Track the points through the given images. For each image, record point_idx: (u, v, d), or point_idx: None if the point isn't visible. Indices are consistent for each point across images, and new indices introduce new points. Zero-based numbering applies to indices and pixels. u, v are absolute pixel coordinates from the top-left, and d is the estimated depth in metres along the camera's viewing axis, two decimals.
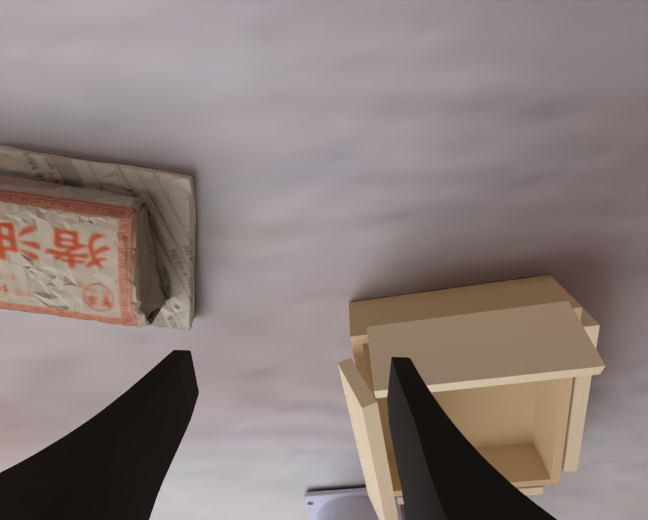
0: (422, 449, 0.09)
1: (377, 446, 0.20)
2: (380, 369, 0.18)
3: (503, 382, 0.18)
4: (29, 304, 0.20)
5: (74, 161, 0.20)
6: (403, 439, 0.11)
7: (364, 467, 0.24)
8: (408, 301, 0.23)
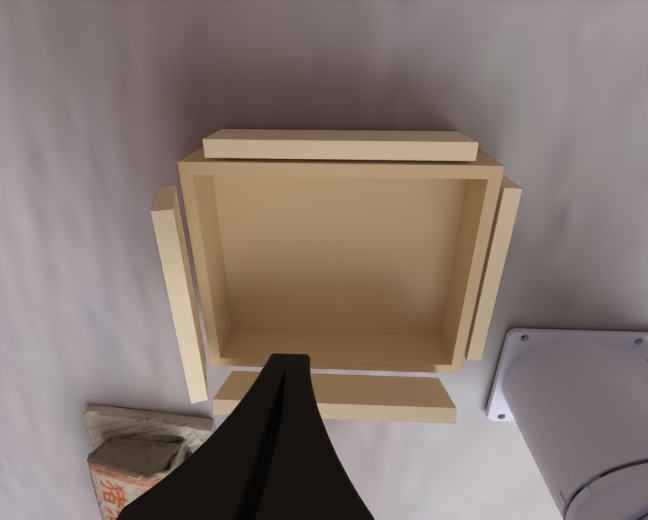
0: (276, 443, 0.09)
1: None
2: None
3: (183, 302, 0.17)
4: None
5: None
6: None
7: None
8: None
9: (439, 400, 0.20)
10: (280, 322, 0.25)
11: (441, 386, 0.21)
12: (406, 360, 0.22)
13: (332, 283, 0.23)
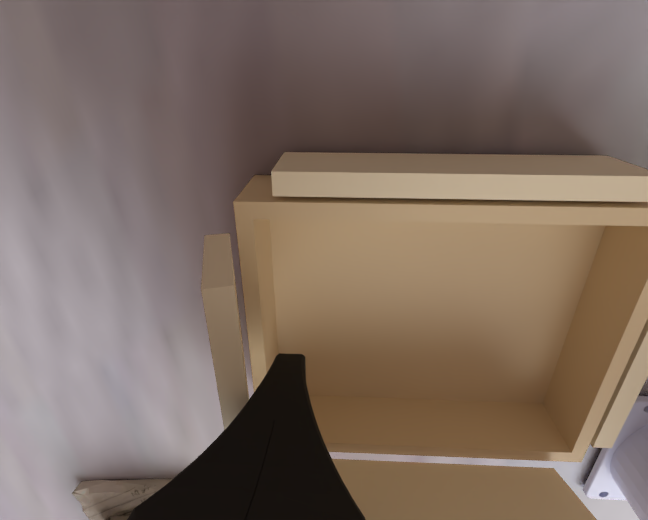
0: (269, 443, 0.09)
1: None
2: None
3: (239, 406, 0.12)
4: None
5: None
6: None
7: None
8: None
9: (576, 514, 0.15)
10: (341, 387, 0.20)
11: (565, 485, 0.16)
12: (511, 445, 0.18)
13: (412, 343, 0.18)
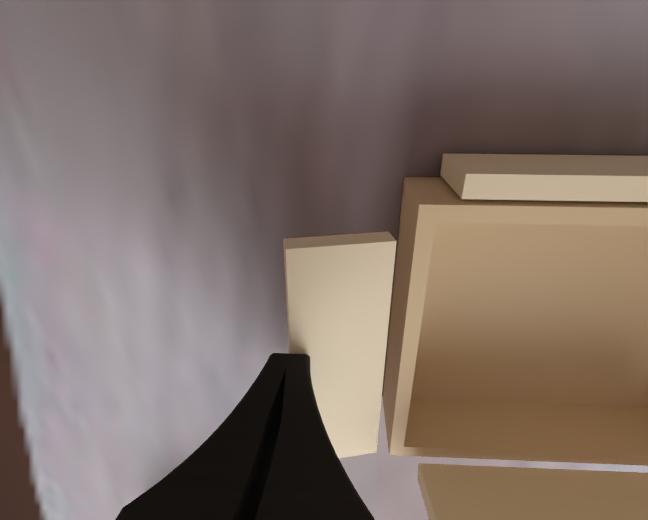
0: (276, 443, 0.09)
1: None
2: None
3: (289, 352, 0.14)
4: None
5: None
6: None
7: None
8: (389, 355, 0.18)
9: None
10: (459, 392, 0.20)
11: None
12: None
13: (541, 347, 0.18)
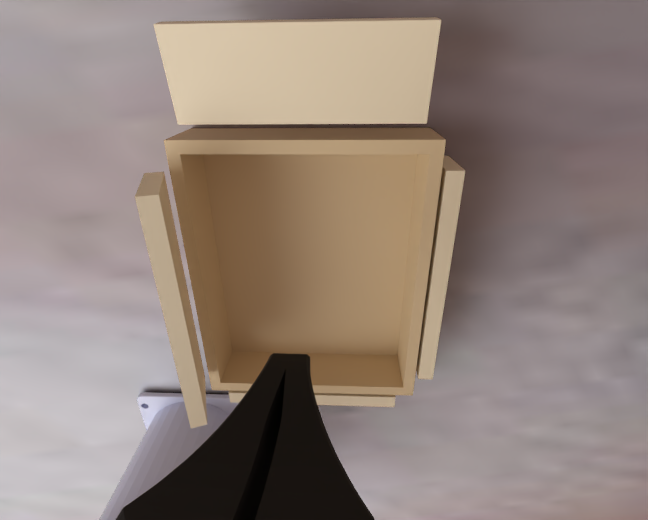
0: (276, 443, 0.09)
1: (163, 268, 0.15)
2: None
3: (319, 20, 0.14)
4: None
5: None
6: None
7: None
8: (258, 130, 0.19)
9: (205, 404, 0.20)
10: (220, 202, 0.21)
11: None
12: (215, 346, 0.22)
13: (279, 258, 0.22)
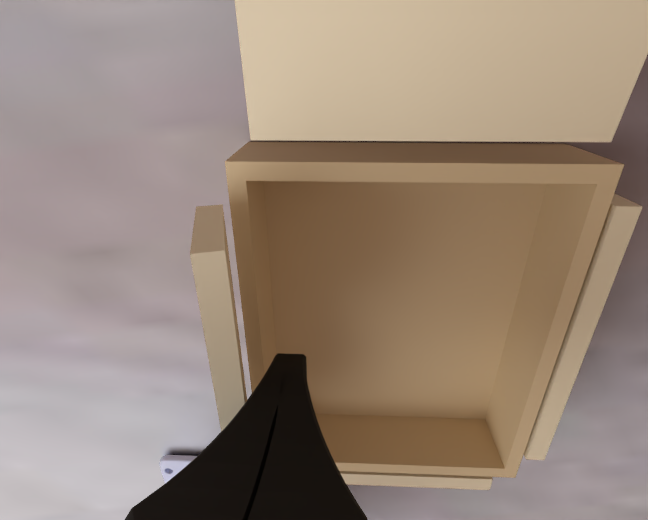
0: (271, 443, 0.09)
1: (222, 350, 0.11)
2: None
3: None
4: None
5: None
6: None
7: None
8: (341, 146, 0.14)
9: None
10: (281, 237, 0.16)
11: None
12: None
13: (351, 305, 0.17)
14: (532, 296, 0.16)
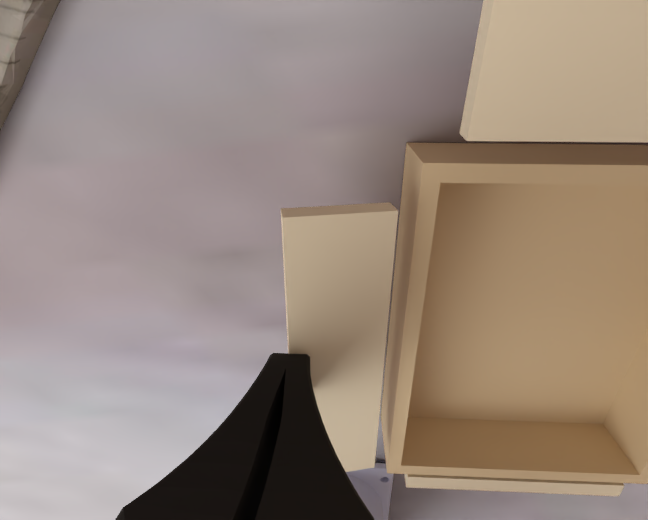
0: (276, 443, 0.09)
1: (285, 297, 0.13)
2: None
3: None
4: None
5: None
6: None
7: None
8: (510, 147, 0.14)
9: None
10: None
11: (349, 469, 0.17)
12: None
13: (487, 308, 0.17)
14: None
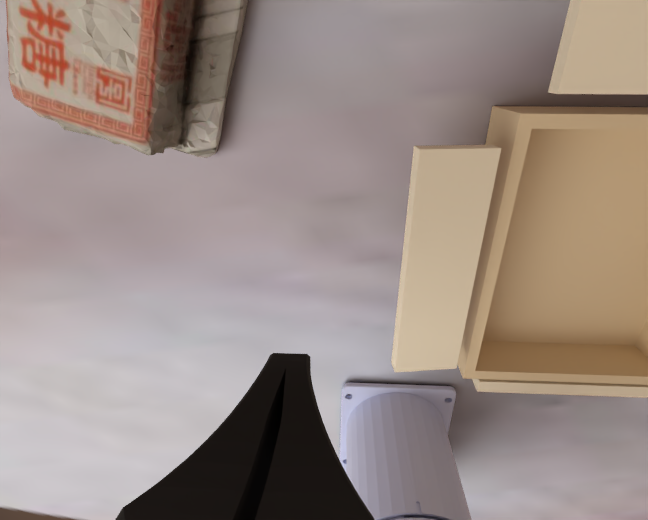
0: (276, 443, 0.09)
1: (409, 214, 0.18)
2: None
3: None
4: None
5: None
6: None
7: None
8: (574, 108, 0.18)
9: (409, 363, 0.21)
10: None
11: (436, 368, 0.21)
12: None
13: (546, 242, 0.22)
14: None
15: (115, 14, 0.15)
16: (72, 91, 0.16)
